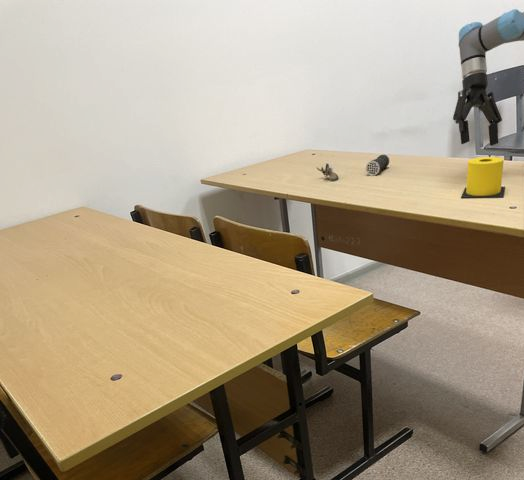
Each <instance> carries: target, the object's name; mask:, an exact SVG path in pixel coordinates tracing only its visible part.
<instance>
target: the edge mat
mask: <svg viewBox="0 0 524 480" xmlns="http://www.w3.org/2000/svg"><path fill="white" fill-rule="evenodd" d="M466 188H467V186H466V187H464V188H463V192H462V194H461V196H460V199H503V198H504V196H505V191H506V186H501V192H500V193H498V194H494V195H487V196H474V195H469V194H467V193H466Z"/></svg>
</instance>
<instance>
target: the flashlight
mask: <svg viewBox="0 0 524 480" xmlns="http://www.w3.org/2000/svg"><path fill="white" fill-rule="evenodd" d="M389 165H390V158H389V156H388V155H386V154H380V155H379V156H377V157H376V158H375V159H371V160H370V161H369V162H368V163H366V165H365V172H366V173H367V175H368V176H370V177H373V176H376V175H378V174H379V173H380V172H381V171H382V170H384V169H386V168H387V167H388V166H389Z"/></svg>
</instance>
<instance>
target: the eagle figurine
mask: <svg viewBox="0 0 524 480" xmlns="http://www.w3.org/2000/svg"><path fill="white" fill-rule="evenodd" d="M316 169H317V170H318V171H319V172H321V173H322V174H323V179H322V181H325V180H326V179H327V177H328V176H329V181H331V182H336V181H338V180H339V175H338V174H337V173H336V172H334V167H333V165H331V164H330V163H325V168H324V167H323V166H321V167H320V168H319V167H318V166H317V167H316Z"/></svg>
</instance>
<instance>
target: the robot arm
mask: <svg viewBox="0 0 524 480" xmlns="http://www.w3.org/2000/svg"><path fill="white" fill-rule="evenodd" d="M515 42H524V11H523V12H521V11H520V10H519V9H517V8H515V9H511V10H509V11H507V12H504V13H502V14H501V15H500V16H498V17H496V18H494V19H493V20H491V21H489V22H487V23H485V24H483V23H482V22H480V21H474V22H473V21H472V22H470V23H467V24H465V25H464V26H462V27H461V28H460V29H459V31H458V48H459V57H460V58H459V59H460V68H461V69H460V70H461V79H462V81H461V84H462V89H461V90H459V91H458V92H457V101H456V106H455V108H454V112H453V117H452V120H453V121H454V122H455V124H456V125H457V124H458V129H459V130H458V132H459V134H460V144H461V145H465V144H467V143H470V141H471V140H470V129H469V120H467V118H468V116H469V114H470V112H471V110H472V108H476V109H477V108H478V110H480V111H481V112H482V114H483V116H484V117H485V119H486V120H487V122H488V138H489V146H490V147H492V146H494V145H498V144H499V125H498V124H499V123H501V122H503V118H502V116H501V113H500V110H499V108H498V105H497V102H496V100H495V97H494V92H493V91H491V92H488V93H487V91H486V89H487V88H488V85H489V79H488V74H487V72H488V68H487V57H486V54H487V52H490V51H492V50H493V49H496V48H497V47H499V46H502V45H504V44H509V43H515Z"/></svg>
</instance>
